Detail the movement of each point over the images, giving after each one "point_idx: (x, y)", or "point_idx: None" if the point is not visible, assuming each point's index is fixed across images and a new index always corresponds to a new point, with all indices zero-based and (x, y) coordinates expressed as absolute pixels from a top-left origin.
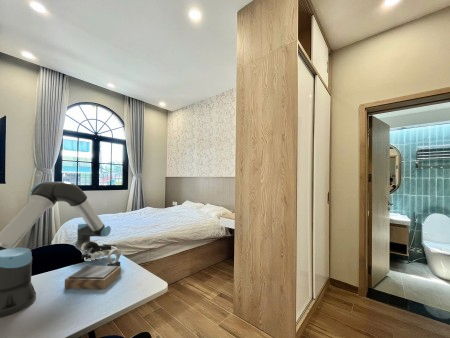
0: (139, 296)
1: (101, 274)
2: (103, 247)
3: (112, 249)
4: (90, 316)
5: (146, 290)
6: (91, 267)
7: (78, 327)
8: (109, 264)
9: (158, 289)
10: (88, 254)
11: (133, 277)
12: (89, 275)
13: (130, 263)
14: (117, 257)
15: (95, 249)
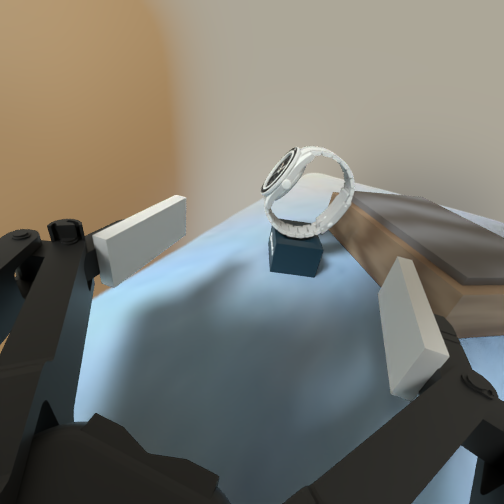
0: (363, 187)
1: (421, 204)
2: (62, 352)
3: (321, 151)
4: (460, 215)
5: (341, 183)
6: (442, 246)
7: (484, 218)
8: (319, 241)
9: (327, 175)
10: (439, 362)
11: (315, 201)
12: (465, 223)
13: (223, 225)
14: (269, 210)
15: (185, 466)
